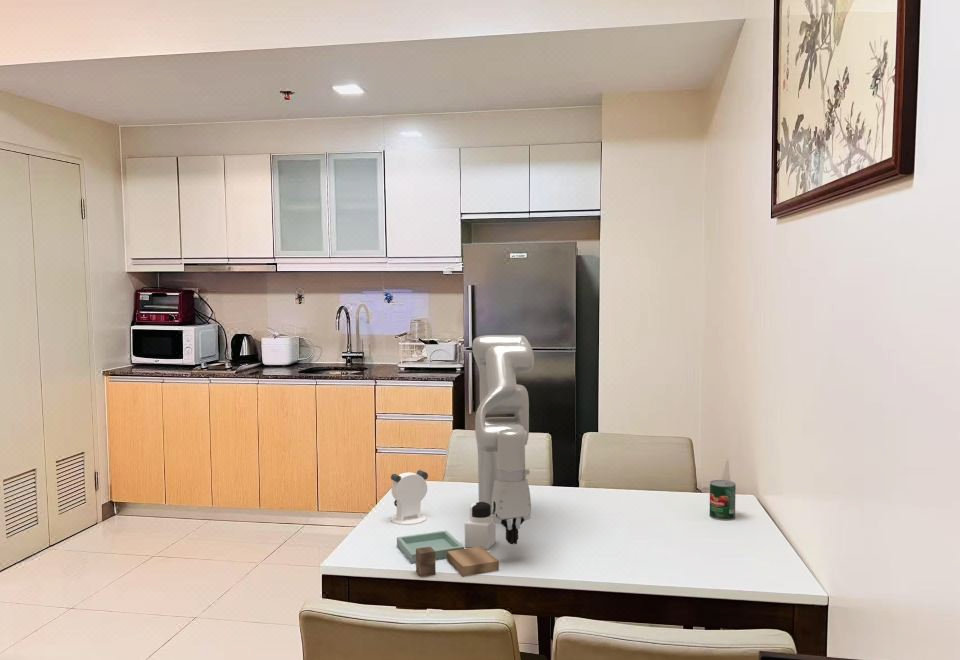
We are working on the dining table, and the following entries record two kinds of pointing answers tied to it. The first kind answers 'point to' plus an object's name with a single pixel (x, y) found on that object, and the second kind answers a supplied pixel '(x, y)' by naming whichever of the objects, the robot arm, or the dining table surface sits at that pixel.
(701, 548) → the dining table surface
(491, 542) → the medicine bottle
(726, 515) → the canned tomato
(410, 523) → the panda figurine
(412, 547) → the tray
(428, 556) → the dark brown wooden block
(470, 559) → the tan wooden block
